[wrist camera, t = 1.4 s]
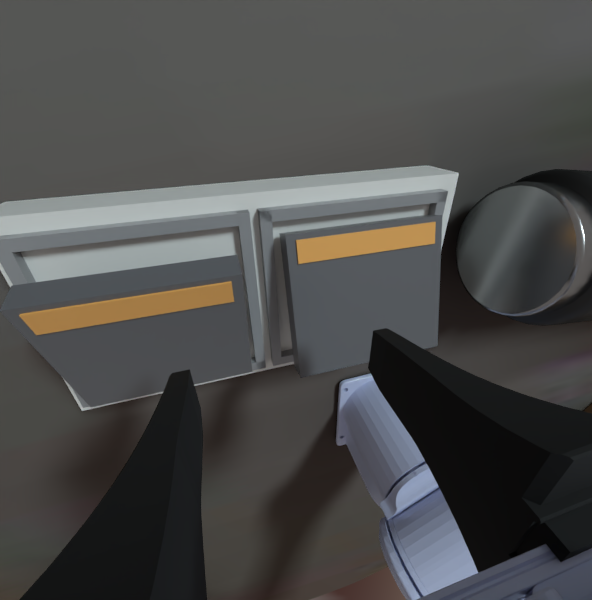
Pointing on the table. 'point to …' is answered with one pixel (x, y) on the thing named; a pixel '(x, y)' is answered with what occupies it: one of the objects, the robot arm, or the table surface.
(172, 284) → the near rocker
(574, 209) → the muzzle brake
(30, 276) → the switch panel
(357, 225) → the far rocker
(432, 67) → the table surface
